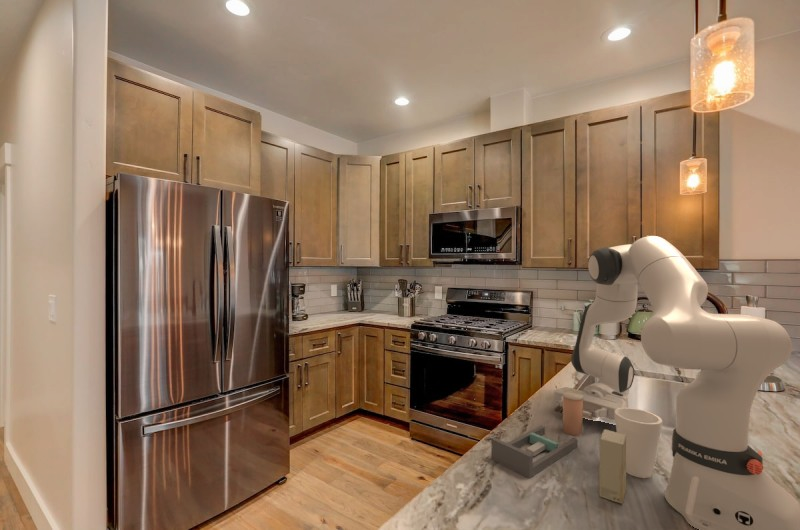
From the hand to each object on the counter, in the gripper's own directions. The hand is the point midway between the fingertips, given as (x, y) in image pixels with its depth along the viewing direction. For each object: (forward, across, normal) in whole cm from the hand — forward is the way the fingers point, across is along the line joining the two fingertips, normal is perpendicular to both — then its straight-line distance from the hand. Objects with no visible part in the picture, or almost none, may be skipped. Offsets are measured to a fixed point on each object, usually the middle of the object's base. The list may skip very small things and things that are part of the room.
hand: (577, 409), depth 108 cm
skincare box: (+24, +19, +6) cm, 32 cm away
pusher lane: (+21, 0, +6) cm, 22 cm away
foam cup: (+10, +19, +6) cm, 22 cm away
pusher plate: (+21, 0, +6) cm, 22 cm away
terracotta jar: (+2, 0, +6) cm, 6 cm away
